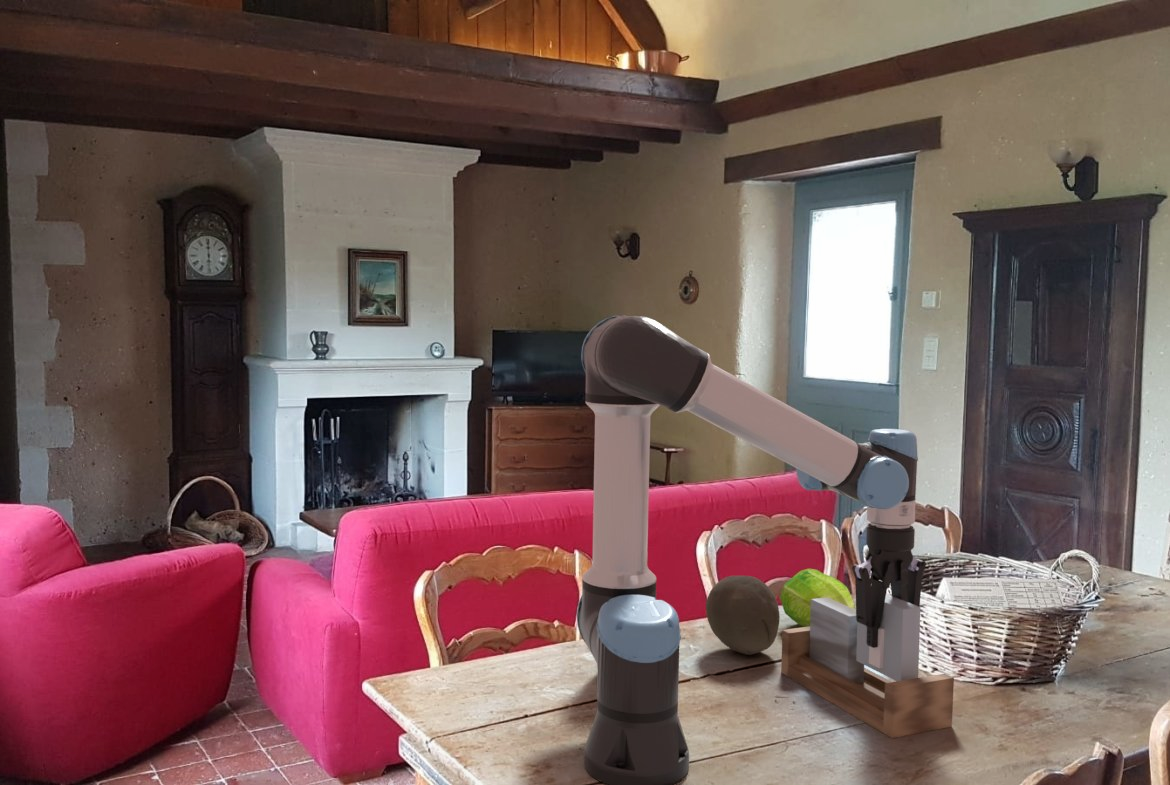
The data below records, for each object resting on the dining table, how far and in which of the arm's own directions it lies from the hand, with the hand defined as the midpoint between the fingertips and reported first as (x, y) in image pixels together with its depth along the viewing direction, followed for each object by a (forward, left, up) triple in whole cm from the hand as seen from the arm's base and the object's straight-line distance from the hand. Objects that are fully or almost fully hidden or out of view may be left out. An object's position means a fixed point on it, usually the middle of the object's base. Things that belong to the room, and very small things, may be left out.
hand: (886, 663), depth 161 cm
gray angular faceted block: (0, 0, -1) cm, 1 cm away
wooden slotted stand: (0, +6, -8) cm, 10 cm away
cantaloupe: (-7, +33, -8) cm, 35 cm away
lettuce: (+15, +37, -8) cm, 41 cm away
